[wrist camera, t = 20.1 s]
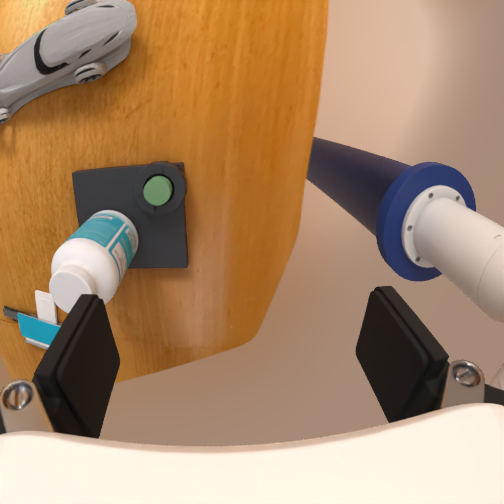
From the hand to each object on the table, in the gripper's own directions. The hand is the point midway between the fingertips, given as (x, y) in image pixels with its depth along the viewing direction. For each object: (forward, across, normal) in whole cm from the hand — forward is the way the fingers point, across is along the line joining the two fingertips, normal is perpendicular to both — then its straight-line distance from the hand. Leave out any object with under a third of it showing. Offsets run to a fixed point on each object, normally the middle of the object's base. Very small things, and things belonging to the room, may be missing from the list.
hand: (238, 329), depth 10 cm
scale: (+28, +12, +5) cm, 31 cm away
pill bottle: (+27, +14, +7) cm, 31 cm away
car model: (+28, +22, -17) cm, 40 cm away
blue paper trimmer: (+28, +30, +22) cm, 47 cm away
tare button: (+26, +7, +1) cm, 27 cm away
